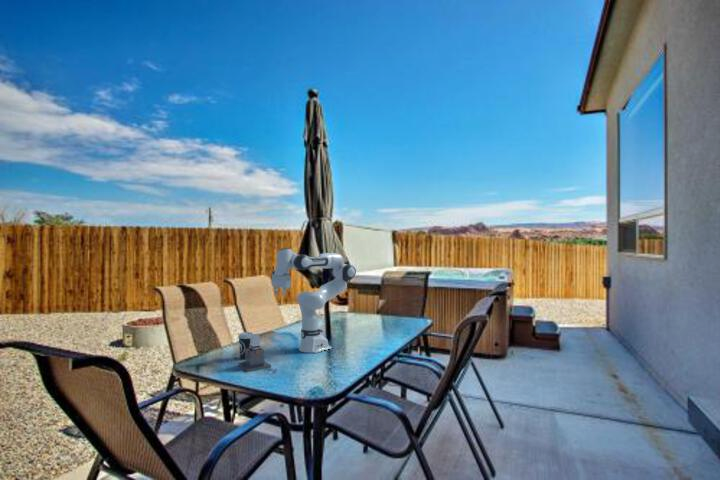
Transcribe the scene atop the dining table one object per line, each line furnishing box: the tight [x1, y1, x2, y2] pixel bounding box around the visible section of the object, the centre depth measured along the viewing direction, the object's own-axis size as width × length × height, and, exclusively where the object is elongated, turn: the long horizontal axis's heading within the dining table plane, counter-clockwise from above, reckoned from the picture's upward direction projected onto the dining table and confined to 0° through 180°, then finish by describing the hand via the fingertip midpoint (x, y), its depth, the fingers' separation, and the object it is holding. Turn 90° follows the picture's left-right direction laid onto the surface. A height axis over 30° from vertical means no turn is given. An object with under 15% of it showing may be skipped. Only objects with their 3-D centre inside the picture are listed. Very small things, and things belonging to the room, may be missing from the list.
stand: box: [237, 347, 272, 373], centre depth 208 cm, size 14×14×10 cm
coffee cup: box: [237, 331, 254, 361], centre depth 225 cm, size 10×10×15 cm
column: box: [250, 333, 261, 351], centre depth 208 cm, size 4×4×16 cm
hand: (279, 294), depth 233 cm, fingers open, 8 cm apart
